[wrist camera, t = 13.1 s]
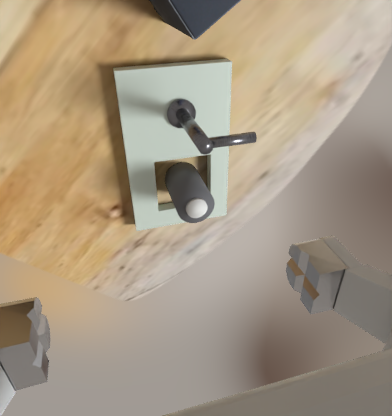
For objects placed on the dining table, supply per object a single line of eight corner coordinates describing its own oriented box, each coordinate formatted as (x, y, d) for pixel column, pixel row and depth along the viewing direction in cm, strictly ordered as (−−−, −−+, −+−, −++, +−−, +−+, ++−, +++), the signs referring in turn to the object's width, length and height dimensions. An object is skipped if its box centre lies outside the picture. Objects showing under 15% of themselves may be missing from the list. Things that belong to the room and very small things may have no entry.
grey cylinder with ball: (163, 164, 44) (177, 195, 38) (197, 160, 45) (216, 189, 39) (165, 195, 47) (178, 228, 41) (198, 189, 47) (215, 221, 41)
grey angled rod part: (167, 128, 40) (189, 165, 32) (165, 100, 38) (188, 132, 31) (223, 121, 41) (256, 156, 34) (224, 94, 40) (259, 123, 32)
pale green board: (135, 224, 48) (136, 230, 46) (113, 67, 36) (114, 71, 35) (222, 209, 50) (226, 214, 49) (227, 58, 39) (232, 61, 38)
